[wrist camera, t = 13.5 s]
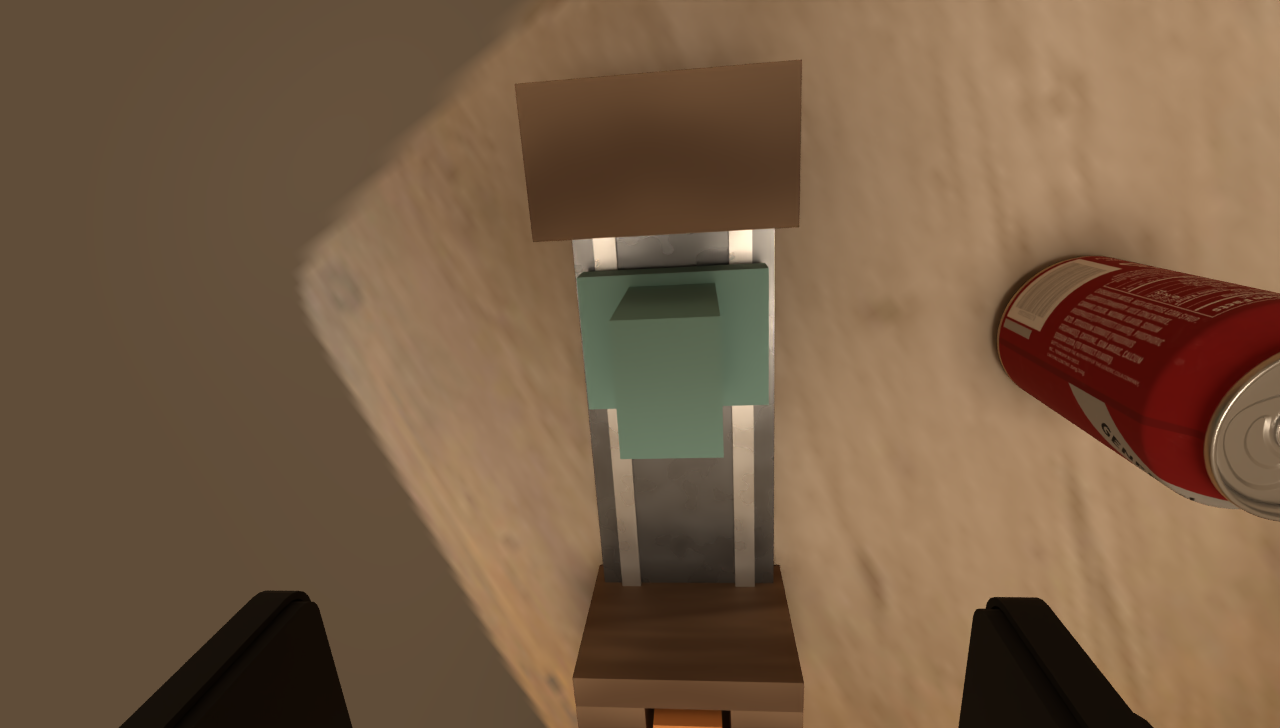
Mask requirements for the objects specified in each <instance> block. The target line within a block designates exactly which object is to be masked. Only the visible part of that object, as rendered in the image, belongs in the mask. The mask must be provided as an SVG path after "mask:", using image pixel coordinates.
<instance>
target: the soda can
mask: <svg viewBox="0 0 1280 728" xmlns="http://www.w3.org/2000/svg"><path fill="white" fill-rule="evenodd" d="M997 349H998V355H999V358H1000V361H1001V364H1002V366H1003V368H1004V370H1005V372H1006V373H1007V375H1008V376H1009V377H1010V379H1011V380H1012V381H1013V382H1014V383H1015V384H1016V385H1017V386H1019V387H1020V388H1021V389H1023V390H1024V391H1026V392H1027V393H1029V394H1030V395H1032V396H1033V397H1035V398H1036V399H1038V400H1039V401H1041V402H1042V403H1044V404H1045V405H1046V406H1048V407H1049V408H1051V409H1052V410H1054V411H1055V412H1057V413H1058V414H1060V415H1061V416H1063V417H1064V418H1066V419H1067V420H1069V421H1070V422H1072V423H1073V424H1075V425H1076V426H1078V427H1079V428H1081V429H1082V430H1084V431H1085V432H1087V433H1088V434H1090V435H1091V436H1093V437H1094V438H1095V439H1097V440H1098V441H1100V442H1101V443H1103V444H1104V445H1106V446H1107V447H1109V448H1110V449H1112V450H1113V451H1115V452H1116V453H1118V454H1119V455H1121V456H1122V457H1124V458H1125V459H1127V460H1128V461H1130V462H1131V463H1133V464H1134V465H1136V466H1137V467H1139V468H1140V469H1142V470H1143V471H1144V472H1146V473H1147V474H1149V475H1150V476H1152V477H1153V478H1155V479H1156V480H1158V481H1159V482H1161V483H1162V484H1164V485H1165V486H1167V487H1168V488H1170V489H1171V490H1173V491H1174V492H1176V493H1178V494H1179V495H1181V496H1183V497H1185V498H1187V499H1190V500H1192V501H1195V502H1198V503H1201V504H1204V505H1208V506H1213V507H1218V508H1227V509H1242V510H1244V511H1246V512H1248V513H1250V514H1253V515H1255V516H1258V517H1261V518H1264V519H1268V520H1273V521H1280V293H1275V292H1271V291H1266V290H1261V289H1256V288H1252V287H1247V286H1242V285H1238V284H1233V283H1228V282H1223V281H1219V280H1214V279H1209V278H1205V277H1200V276H1195V275H1190V274H1186V273H1181V272H1176V271H1171V270H1167V269H1162V268H1157V267H1153V266H1148V265H1143V264H1138V263H1134V262H1129V261H1124V260H1120V259H1115V258H1110V257H1104V256H1083V257H1076V258H1071V259H1068V260H1064V261H1061V262H1058V263H1056V264H1053V265H1051V266H1049V267H1047V268H1045V269H1044V270H1042V271H1040V272H1039V273H1037V274H1036V275H1034V276H1033V277H1032V278H1030V279H1029V280H1028V281H1027V282H1026V283H1025V284H1024V285H1023V286H1021V287H1020V289H1019V290H1018V291H1017V292H1016V293H1015V294H1014V296H1013V297H1012V299H1011V300H1010V302H1009V303H1008V305H1007V306H1006V308H1005V311H1004V313H1003V315H1002V318H1001V320H1000V324H999V328H998V334H997Z"/></svg>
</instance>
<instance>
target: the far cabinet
mask: <svg viewBox="0 0 1280 728" xmlns="http://www.w3.org/2000/svg"><path fill="white" fill-rule="evenodd" d="M573 686H574V695H575V703H576V711H577V719H578V727H579V728H653V722H654V709H655V708H656V709H693V710H722V728H803V702H804V681H803V676H802V671H801V667H800V662H799V657H798V652H797V648H796V643H795V638H794V633H793V628H792V624H791V619H790V614H789V609H788V605H787V600H786V595H785V590H784V585H783V581H782V576H781V571H780V566H779V565H773V583H755V587H735V583H641V586H623V585H622V582H605V577H604V567H603V565H600V568H599V572H598V576H597V580H596V584H595V588H594V592H593V596H592V600H591V604H590V609H589V613H588V617H587V621H586V625H585V629H584V633H583V637H582V641H581V645H580V649H579V654H578V658H577V662H576V666H575V670H574V674H573Z"/></svg>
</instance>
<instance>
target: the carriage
mask: <svg viewBox="0 0 1280 728" xmlns="http://www.w3.org/2000/svg"><path fill="white" fill-rule="evenodd" d="M577 289H578V299H579V310H580V320H581V330H582V341H583V351H584V362H585V372H586V382H587V393H588V403H589V409H616V410H617V423H618V435H619V447H620V459H664V458H724V447H723V406H744V405H769V268H768V266H767V265H766V264H765V263H751V264H731V265H711V266H691V267H671V268H651V269H632V270H612V271H592V272H582V273H581V274H580V275H579V276H578V277H577Z"/></svg>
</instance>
